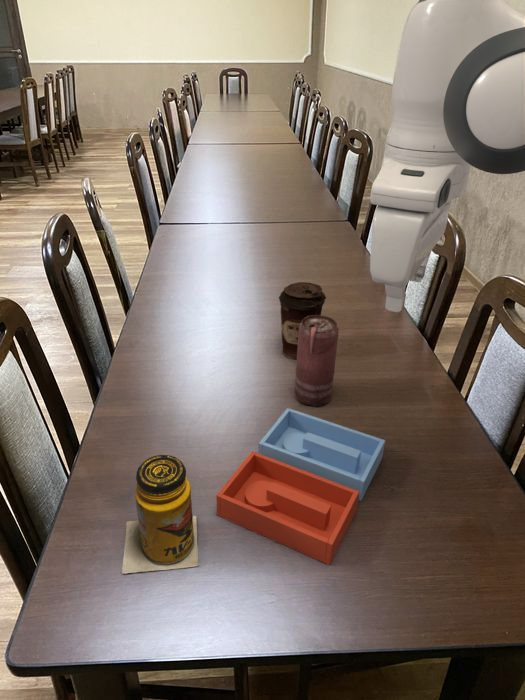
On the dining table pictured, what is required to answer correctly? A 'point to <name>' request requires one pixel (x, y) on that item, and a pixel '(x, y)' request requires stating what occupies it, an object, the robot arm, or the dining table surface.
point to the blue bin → (306, 423)
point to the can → (316, 359)
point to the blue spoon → (323, 450)
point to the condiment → (161, 519)
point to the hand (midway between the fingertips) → (405, 293)
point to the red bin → (279, 524)
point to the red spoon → (288, 503)
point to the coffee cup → (298, 312)
